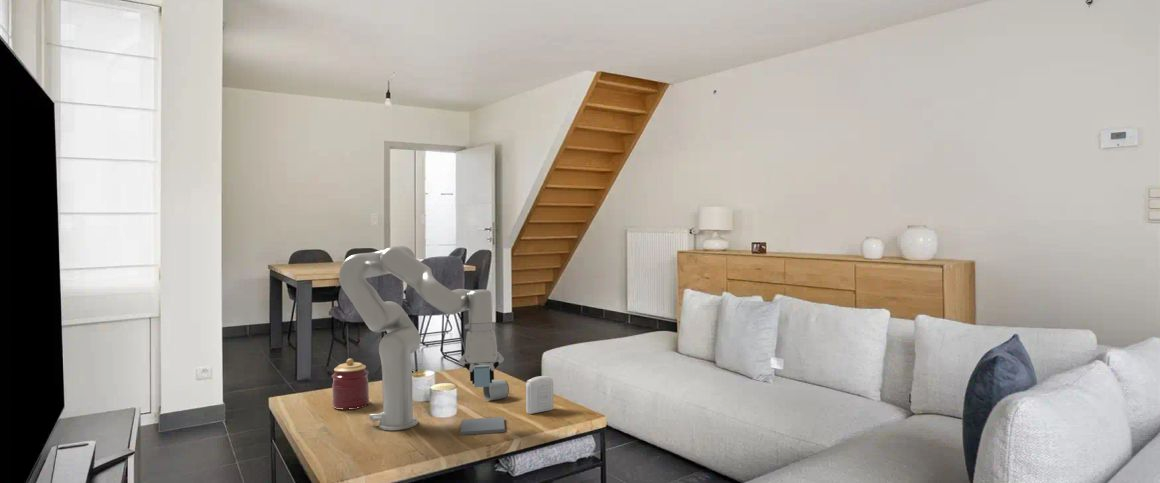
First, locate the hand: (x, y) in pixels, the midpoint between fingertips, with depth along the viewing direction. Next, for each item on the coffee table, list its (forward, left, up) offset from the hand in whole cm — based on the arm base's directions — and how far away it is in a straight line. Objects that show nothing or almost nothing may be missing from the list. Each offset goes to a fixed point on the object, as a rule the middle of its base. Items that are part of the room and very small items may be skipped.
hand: (482, 382), depth 205 cm
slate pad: (0, 0, -15) cm, 15 cm away
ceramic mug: (+4, +34, -15) cm, 38 cm away
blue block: (0, 0, -1) cm, 1 cm away
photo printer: (+20, +14, -15) cm, 29 cm away
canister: (-49, +36, -15) cm, 63 cm away
